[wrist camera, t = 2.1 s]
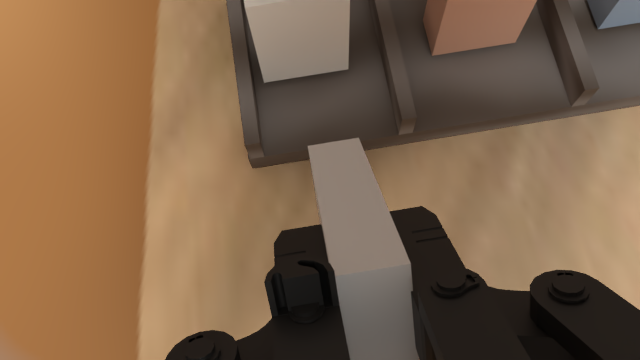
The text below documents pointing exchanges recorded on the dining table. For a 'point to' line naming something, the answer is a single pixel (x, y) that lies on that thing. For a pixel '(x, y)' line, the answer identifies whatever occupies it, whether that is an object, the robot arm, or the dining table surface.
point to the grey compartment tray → (434, 80)
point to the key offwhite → (299, 36)
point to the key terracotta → (473, 23)
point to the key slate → (615, 12)
